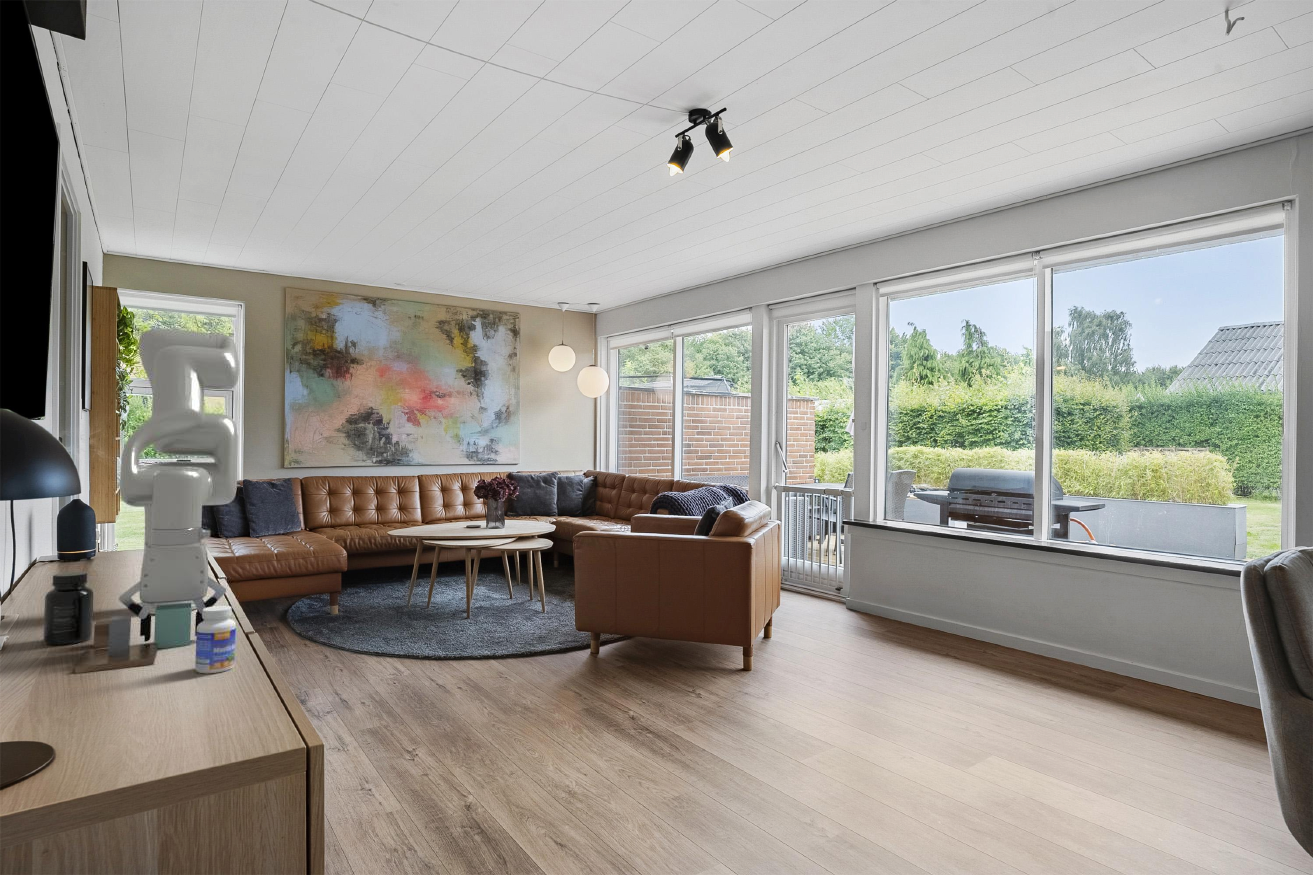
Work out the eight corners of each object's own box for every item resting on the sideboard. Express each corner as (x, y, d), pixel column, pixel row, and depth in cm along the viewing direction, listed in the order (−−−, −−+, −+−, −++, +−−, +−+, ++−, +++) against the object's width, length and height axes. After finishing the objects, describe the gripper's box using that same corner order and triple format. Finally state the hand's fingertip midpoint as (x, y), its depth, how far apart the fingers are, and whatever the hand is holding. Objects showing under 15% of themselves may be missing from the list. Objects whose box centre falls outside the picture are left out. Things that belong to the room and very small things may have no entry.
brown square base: (85, 656, 119) (86, 614, 119) (157, 648, 125) (159, 608, 125) (75, 673, 111) (76, 627, 111) (153, 664, 116) (155, 621, 116)
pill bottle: (215, 675, 111) (218, 612, 112) (186, 672, 112) (188, 610, 113) (242, 665, 117) (244, 605, 117) (214, 662, 118) (216, 603, 118)
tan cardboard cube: (96, 643, 127) (96, 621, 127) (117, 641, 128) (118, 619, 128) (93, 647, 124) (94, 624, 124) (115, 645, 126) (115, 622, 126)
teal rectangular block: (156, 641, 129) (157, 604, 129) (190, 638, 132) (191, 602, 132) (153, 648, 125) (155, 610, 125) (189, 645, 127) (190, 607, 127)
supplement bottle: (102, 636, 131) (104, 571, 132) (68, 646, 125) (70, 577, 125) (68, 635, 132) (70, 569, 132) (32, 645, 125) (34, 576, 125)
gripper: (232, 533, 136) (228, 627, 136) (118, 537, 127) (114, 637, 127) (232, 537, 130) (229, 636, 130) (113, 542, 121) (109, 648, 120)
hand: (172, 636), depth 128 cm, fingers open, 6 cm apart
